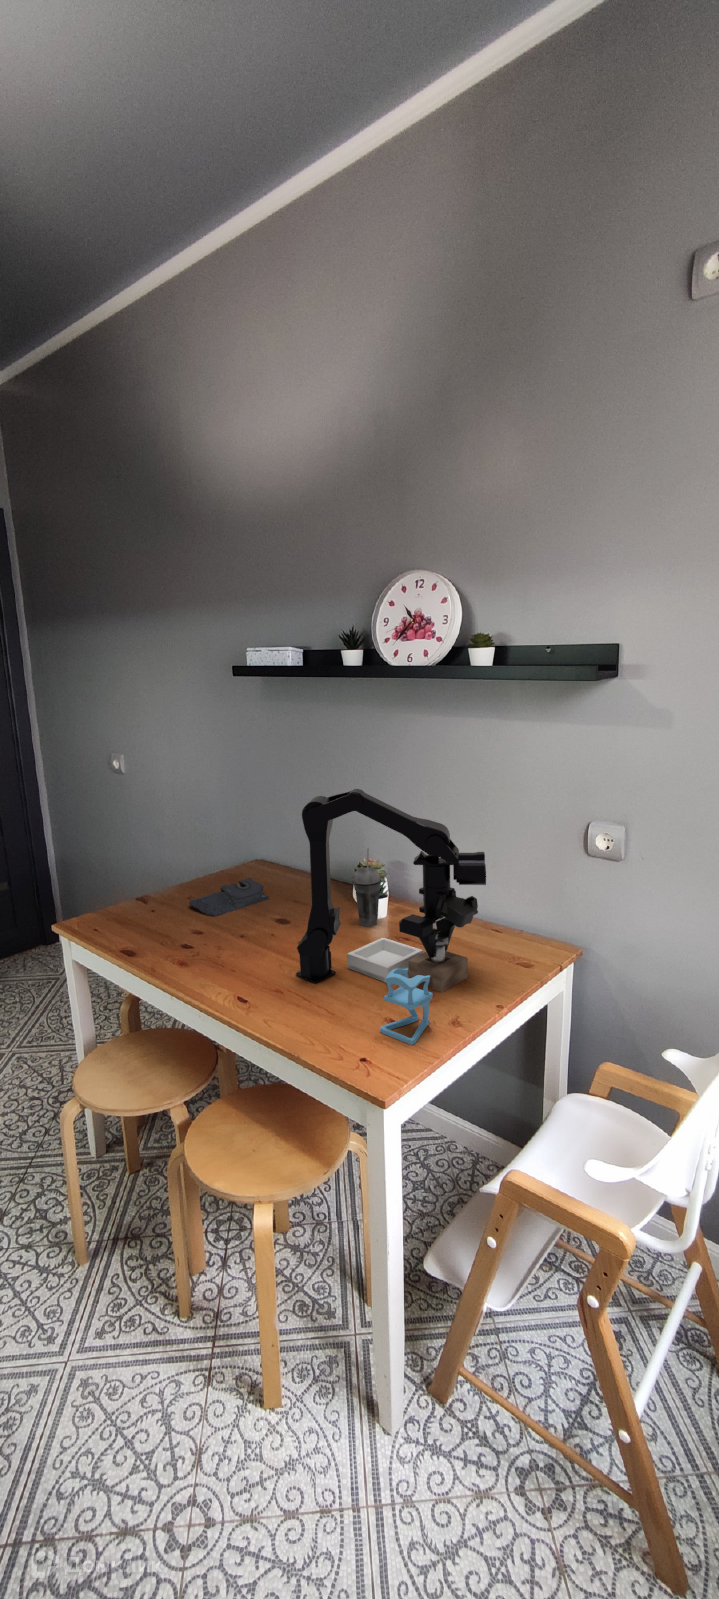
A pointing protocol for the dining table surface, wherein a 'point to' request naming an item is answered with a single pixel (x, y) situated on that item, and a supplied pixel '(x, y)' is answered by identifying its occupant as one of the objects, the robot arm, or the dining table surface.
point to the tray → (381, 958)
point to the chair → (407, 1002)
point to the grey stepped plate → (230, 898)
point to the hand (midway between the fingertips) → (437, 953)
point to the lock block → (440, 970)
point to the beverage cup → (367, 893)
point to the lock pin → (440, 949)
